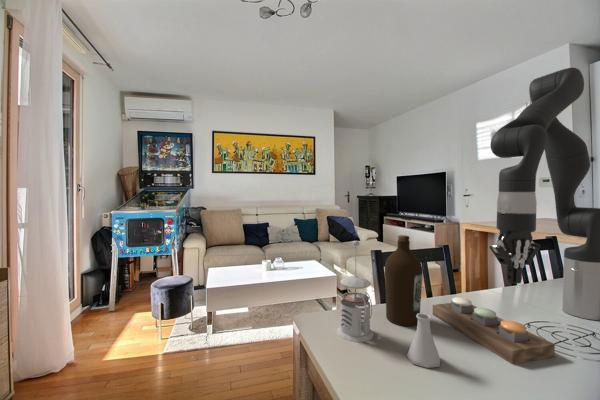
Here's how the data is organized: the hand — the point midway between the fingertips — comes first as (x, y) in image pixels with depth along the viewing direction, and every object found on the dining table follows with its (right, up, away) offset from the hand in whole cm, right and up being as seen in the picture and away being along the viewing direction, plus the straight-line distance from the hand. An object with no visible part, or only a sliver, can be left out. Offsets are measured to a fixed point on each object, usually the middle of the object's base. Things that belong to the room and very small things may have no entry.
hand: (514, 282), depth 68 cm
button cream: (-4, -14, +16) cm, 21 cm away
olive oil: (-21, -16, +16) cm, 31 cm away
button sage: (-2, -14, +8) cm, 16 cm away
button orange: (0, -14, 0) cm, 14 cm away
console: (-2, -16, +8) cm, 18 cm away
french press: (-36, -16, +8) cm, 41 cm away
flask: (-24, -17, -4) cm, 29 cm away
